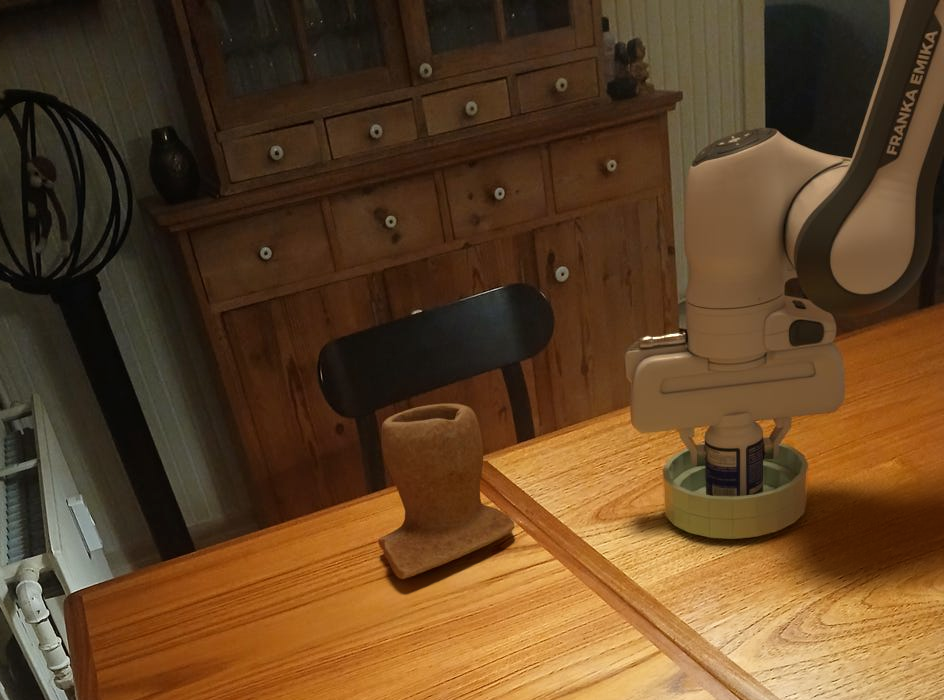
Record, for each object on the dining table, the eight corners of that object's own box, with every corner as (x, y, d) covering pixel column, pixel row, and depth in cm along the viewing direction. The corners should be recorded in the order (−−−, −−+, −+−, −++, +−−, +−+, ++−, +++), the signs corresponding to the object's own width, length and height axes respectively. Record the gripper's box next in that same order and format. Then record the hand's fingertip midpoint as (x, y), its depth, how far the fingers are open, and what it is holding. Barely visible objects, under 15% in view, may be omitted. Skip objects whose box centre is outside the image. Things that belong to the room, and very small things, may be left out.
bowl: (791, 474, 108) (792, 431, 105) (818, 536, 96) (821, 490, 93) (659, 487, 110) (657, 445, 107) (671, 550, 98) (669, 505, 95)
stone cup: (472, 505, 113) (451, 379, 105) (530, 540, 104) (513, 406, 96) (355, 553, 108) (324, 425, 100) (407, 594, 99) (377, 457, 91)
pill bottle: (749, 480, 105) (750, 391, 99) (772, 502, 100) (774, 410, 94) (697, 492, 104) (695, 402, 99) (718, 514, 100) (717, 422, 94)
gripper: (624, 350, 91) (632, 485, 99) (854, 321, 88) (845, 463, 96) (620, 328, 96) (629, 458, 104) (838, 301, 93) (830, 437, 101)
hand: (734, 460), depth 100 cm, fingers closed on pill bottle, 6 cm apart
